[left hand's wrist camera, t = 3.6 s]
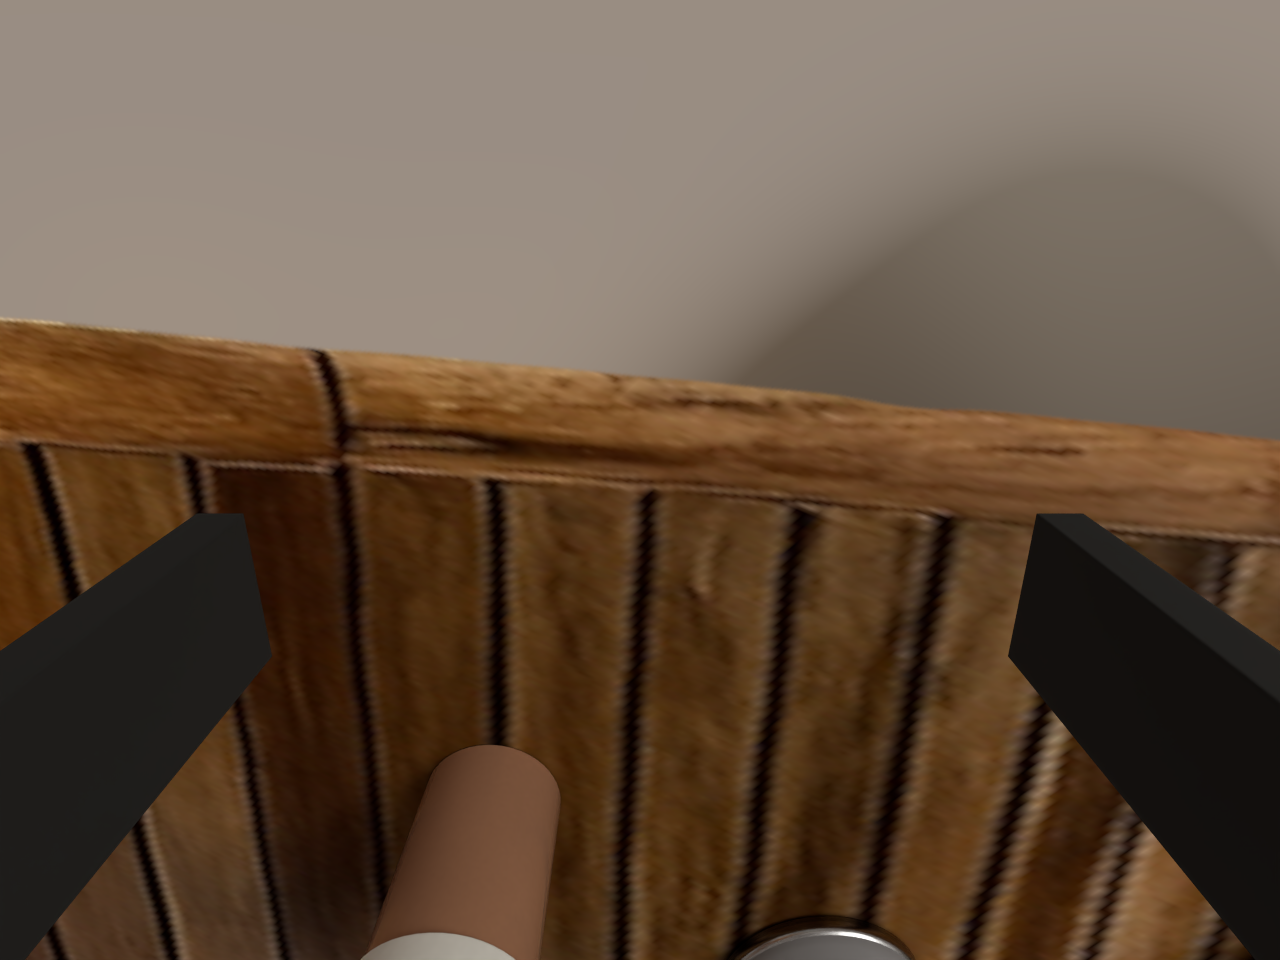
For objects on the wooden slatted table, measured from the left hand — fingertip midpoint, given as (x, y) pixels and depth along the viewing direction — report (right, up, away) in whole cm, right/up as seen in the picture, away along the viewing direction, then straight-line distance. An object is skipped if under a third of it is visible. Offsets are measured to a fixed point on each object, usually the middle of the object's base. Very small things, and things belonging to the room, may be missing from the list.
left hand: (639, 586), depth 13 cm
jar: (-10, -19, +37) cm, 43 cm away
